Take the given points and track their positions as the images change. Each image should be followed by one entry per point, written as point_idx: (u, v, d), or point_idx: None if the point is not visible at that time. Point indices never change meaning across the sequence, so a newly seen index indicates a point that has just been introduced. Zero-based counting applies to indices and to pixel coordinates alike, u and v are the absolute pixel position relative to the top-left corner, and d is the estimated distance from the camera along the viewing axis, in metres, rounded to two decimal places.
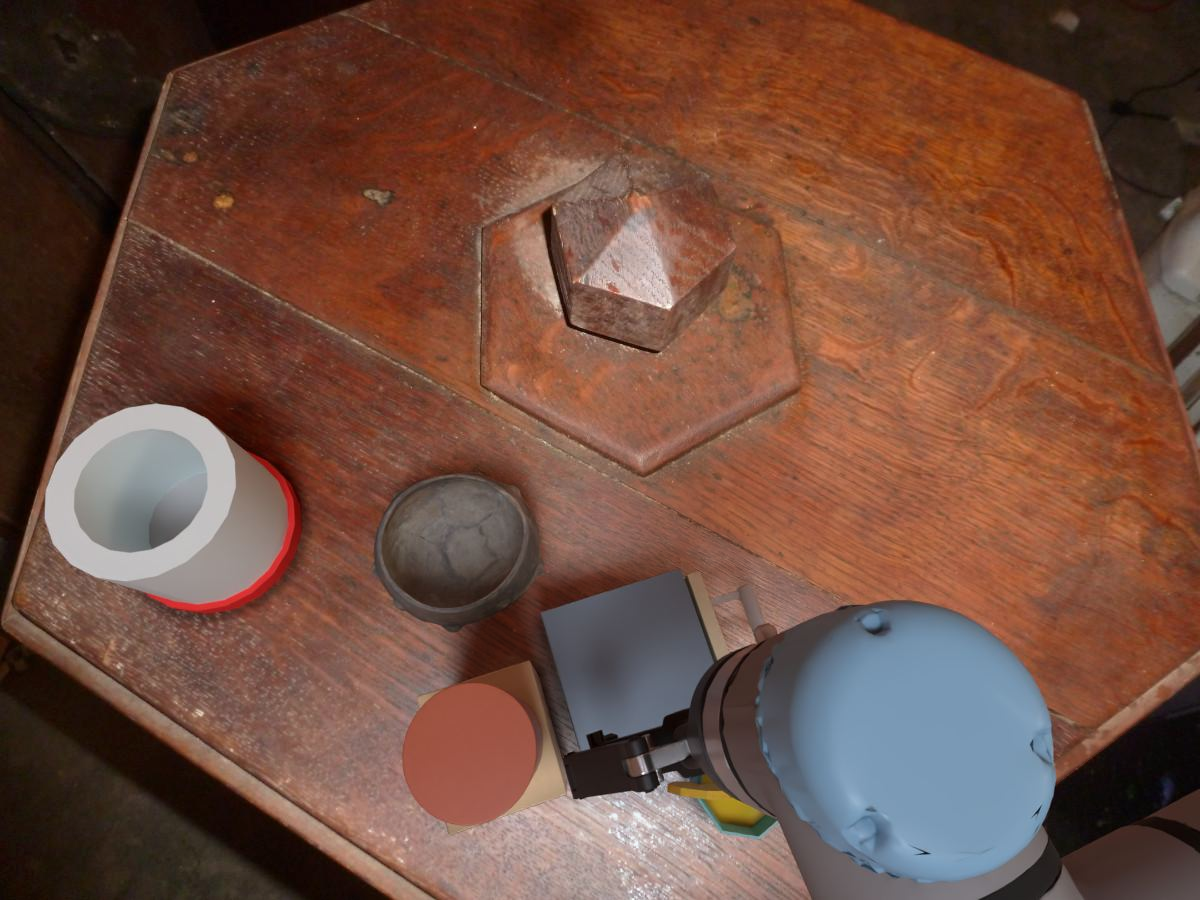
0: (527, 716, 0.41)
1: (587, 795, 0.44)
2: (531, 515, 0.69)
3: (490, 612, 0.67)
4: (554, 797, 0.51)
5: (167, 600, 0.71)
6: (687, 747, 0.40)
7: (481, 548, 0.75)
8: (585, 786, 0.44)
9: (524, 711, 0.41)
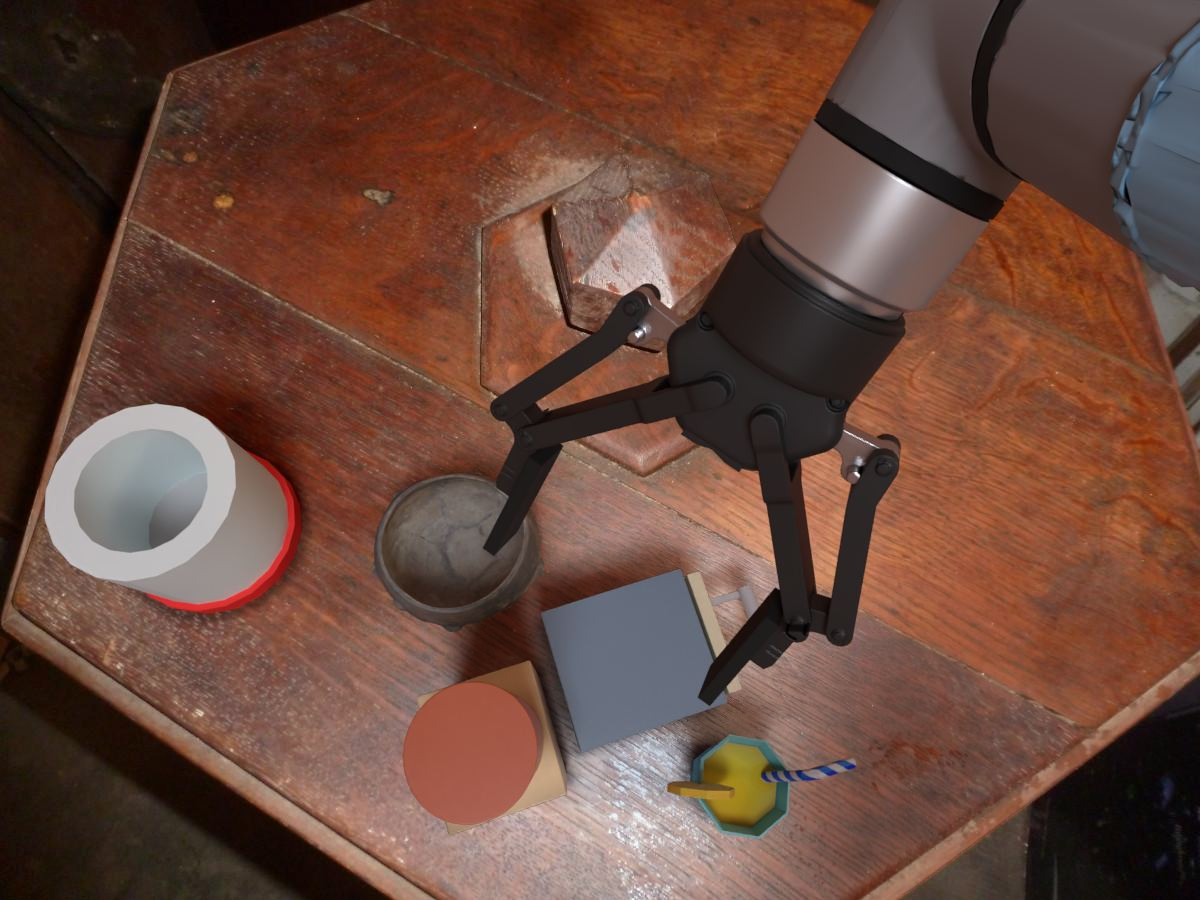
0: (527, 715, 0.41)
1: None
2: (531, 515, 0.69)
3: (490, 612, 0.67)
4: (554, 797, 0.51)
5: (167, 600, 0.71)
6: None
7: (481, 548, 0.75)
8: None
9: (524, 710, 0.41)
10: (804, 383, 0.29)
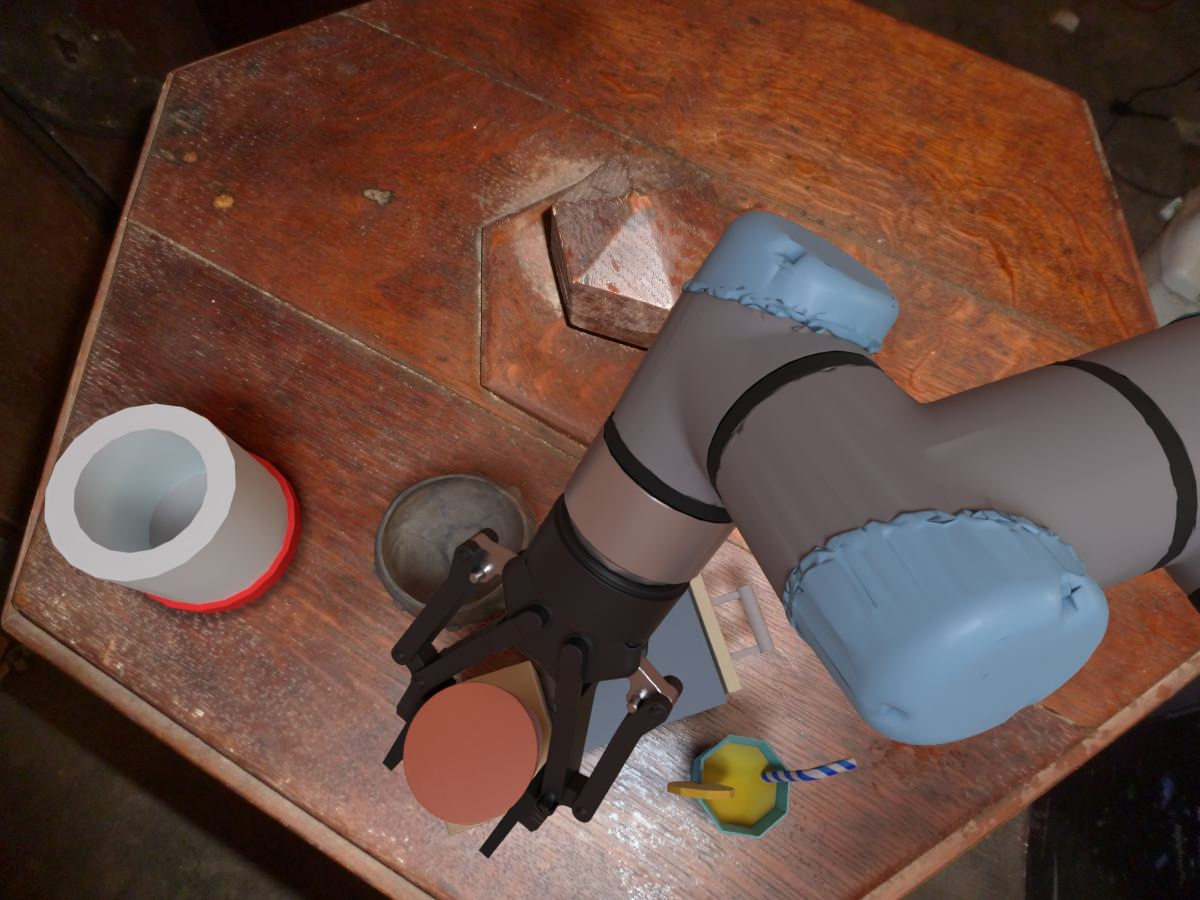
0: (527, 715, 0.41)
1: (407, 629, 0.43)
2: (531, 515, 0.69)
3: (490, 612, 0.67)
4: None
5: (167, 600, 0.71)
6: None
7: None
8: None
9: (524, 710, 0.41)
10: (590, 632, 0.35)
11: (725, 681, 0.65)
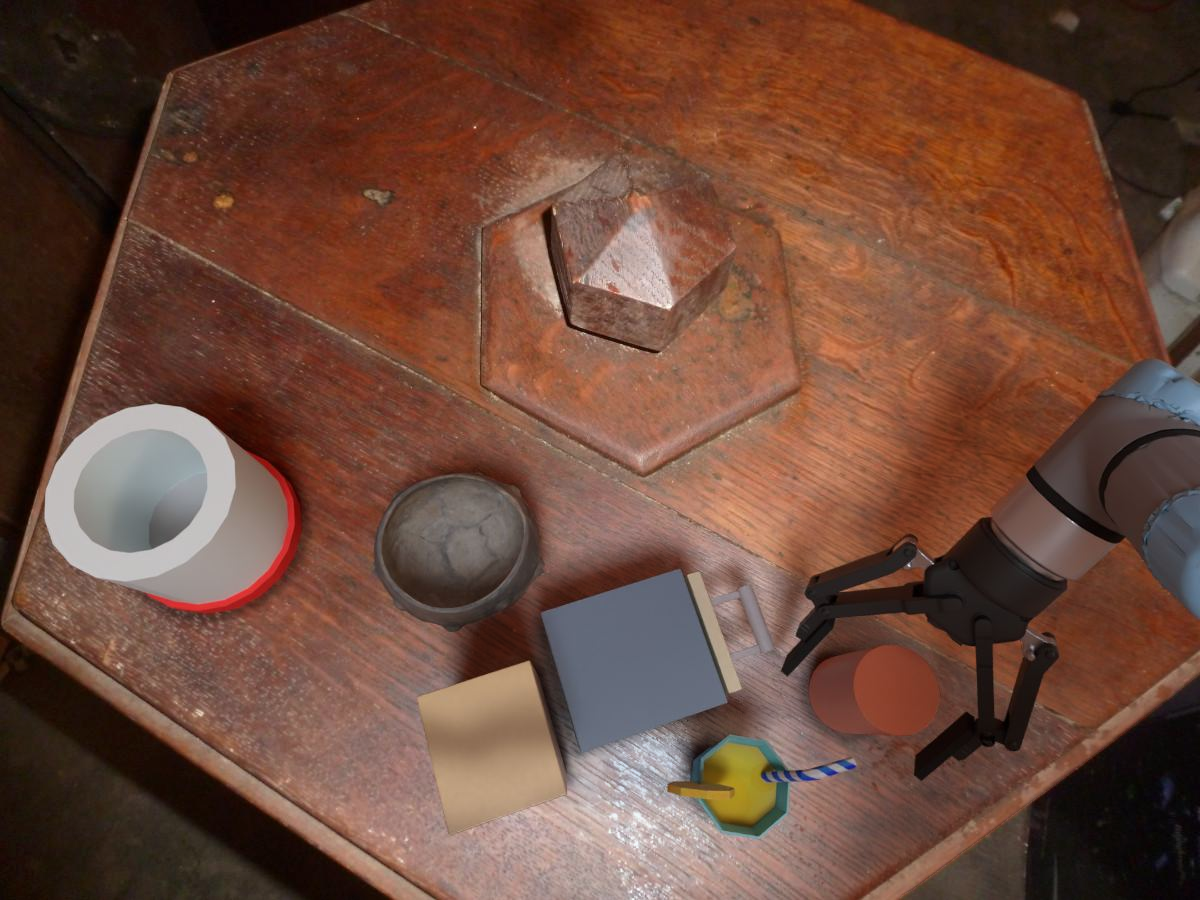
0: (929, 666, 0.63)
1: (828, 580, 0.63)
2: (531, 515, 0.69)
3: (490, 612, 0.67)
4: (554, 797, 0.51)
5: (167, 600, 0.71)
6: None
7: (481, 548, 0.75)
8: (829, 577, 0.64)
9: (926, 663, 0.63)
10: (1015, 610, 0.56)
11: (725, 681, 0.65)
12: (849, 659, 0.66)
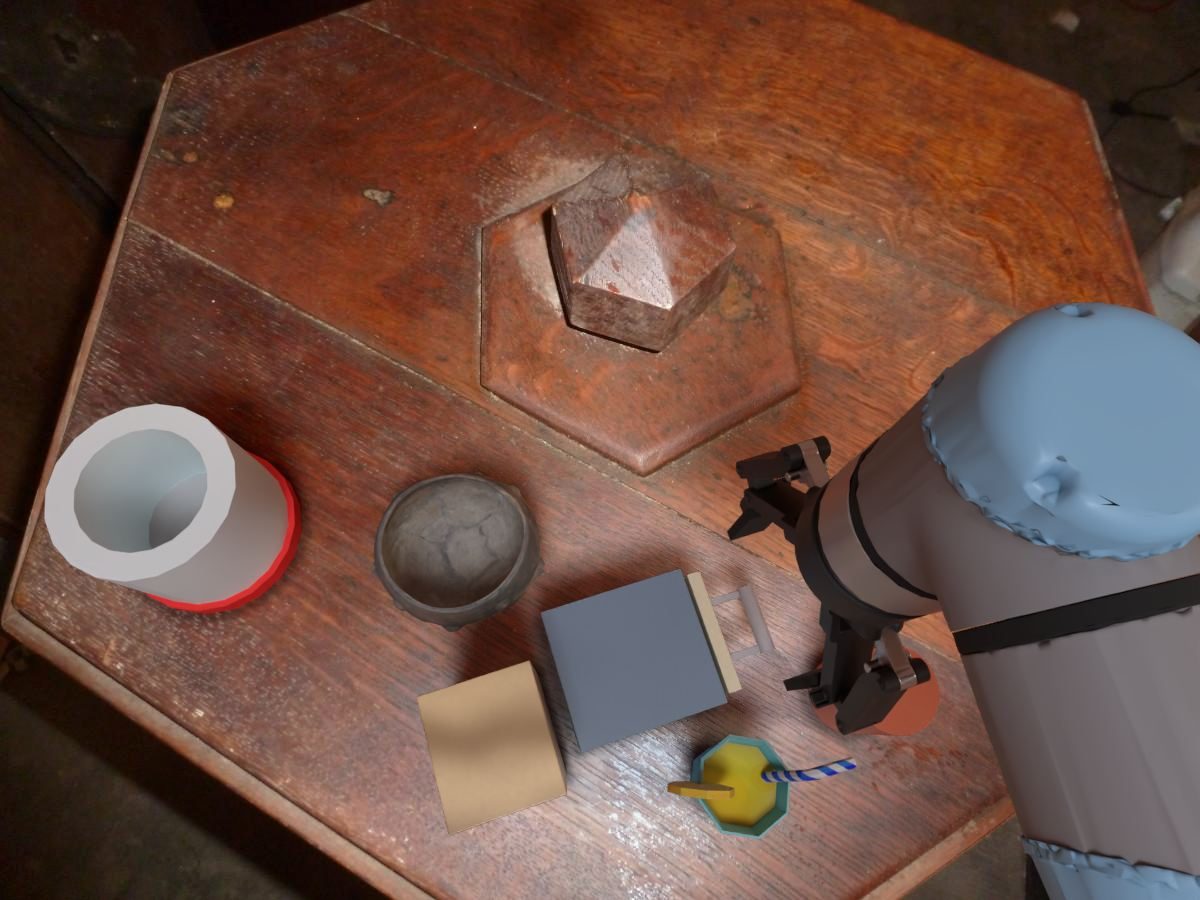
0: (929, 666, 0.63)
1: (747, 460, 0.49)
2: (531, 515, 0.69)
3: (490, 612, 0.67)
4: (554, 797, 0.51)
5: (167, 600, 0.71)
6: None
7: (481, 548, 0.75)
8: (754, 458, 0.49)
9: (926, 663, 0.63)
10: (817, 598, 0.37)
11: (725, 681, 0.65)
12: None
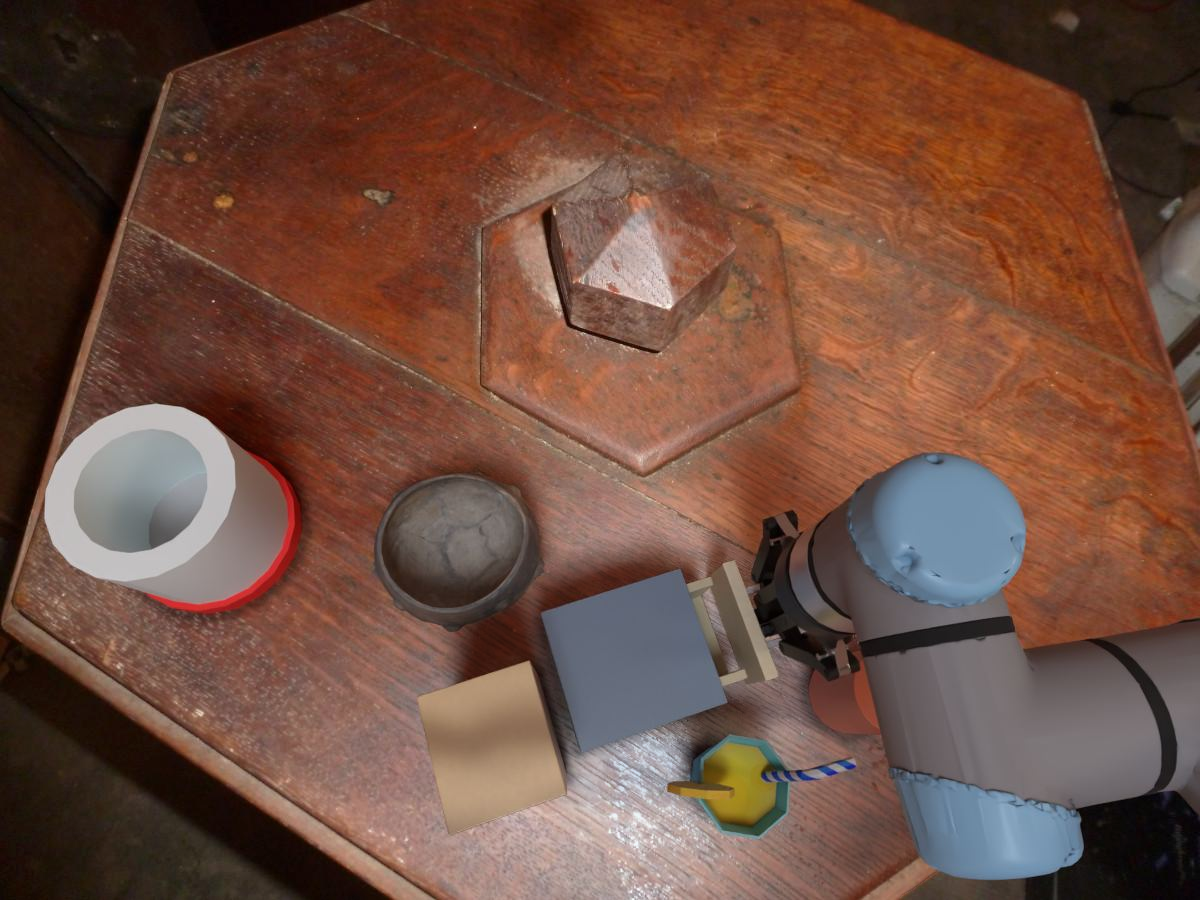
0: None
1: (754, 562, 0.65)
2: (531, 515, 0.69)
3: (490, 612, 0.67)
4: (554, 797, 0.51)
5: (167, 600, 0.71)
6: (796, 538, 0.57)
7: (481, 548, 0.75)
8: None
9: None
10: (790, 619, 0.53)
11: (762, 669, 0.65)
12: None
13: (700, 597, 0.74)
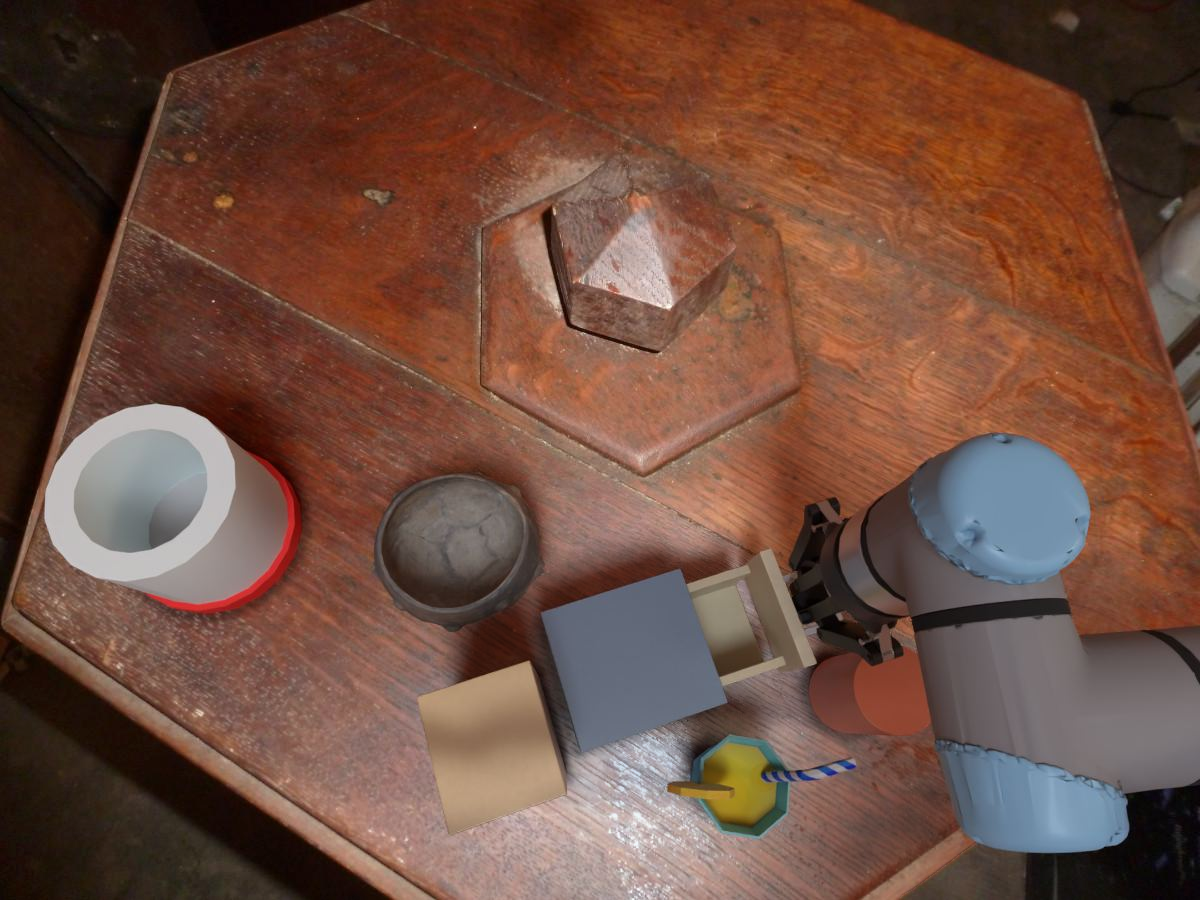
0: None
1: (793, 549, 0.65)
2: (531, 515, 0.69)
3: (490, 612, 0.67)
4: (554, 797, 0.51)
5: (167, 600, 0.71)
6: (839, 524, 0.58)
7: (481, 548, 0.75)
8: None
9: None
10: (837, 603, 0.53)
11: (800, 656, 0.66)
12: (849, 659, 0.66)
13: (734, 586, 0.74)
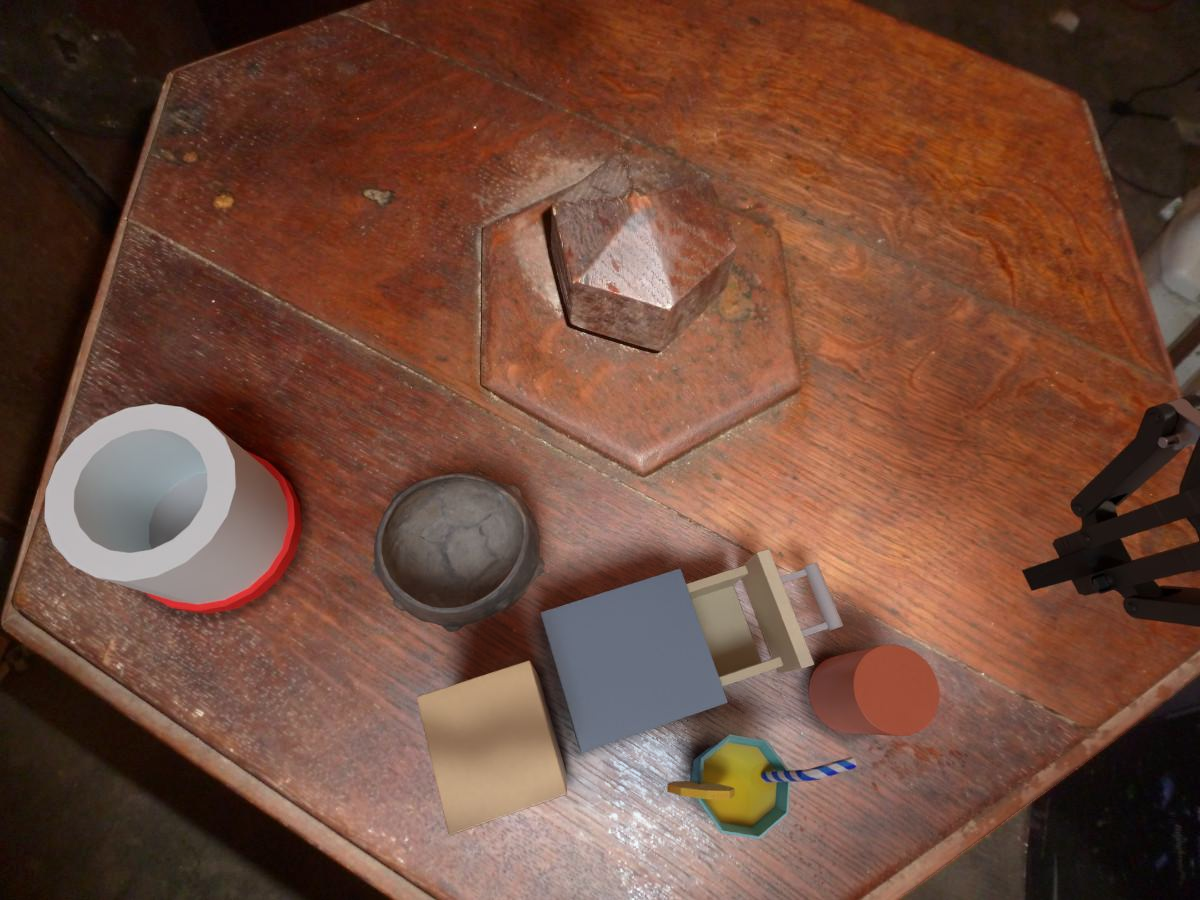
0: (929, 666, 0.63)
1: (1088, 484, 0.45)
2: (531, 515, 0.69)
3: (490, 612, 0.67)
4: (554, 797, 0.51)
5: (167, 600, 0.71)
6: None
7: (481, 548, 0.75)
8: None
9: (926, 663, 0.63)
10: None
11: (797, 656, 0.66)
12: (849, 659, 0.66)
13: (732, 587, 0.74)
